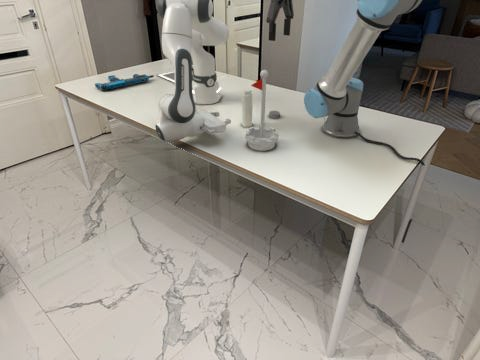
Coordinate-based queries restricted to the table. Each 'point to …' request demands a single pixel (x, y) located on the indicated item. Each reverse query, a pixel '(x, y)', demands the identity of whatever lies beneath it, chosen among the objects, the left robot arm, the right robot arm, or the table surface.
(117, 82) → the submachine gun
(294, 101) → the table surface
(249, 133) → the flag stand
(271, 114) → the lid
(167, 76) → the tablet
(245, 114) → the jar
